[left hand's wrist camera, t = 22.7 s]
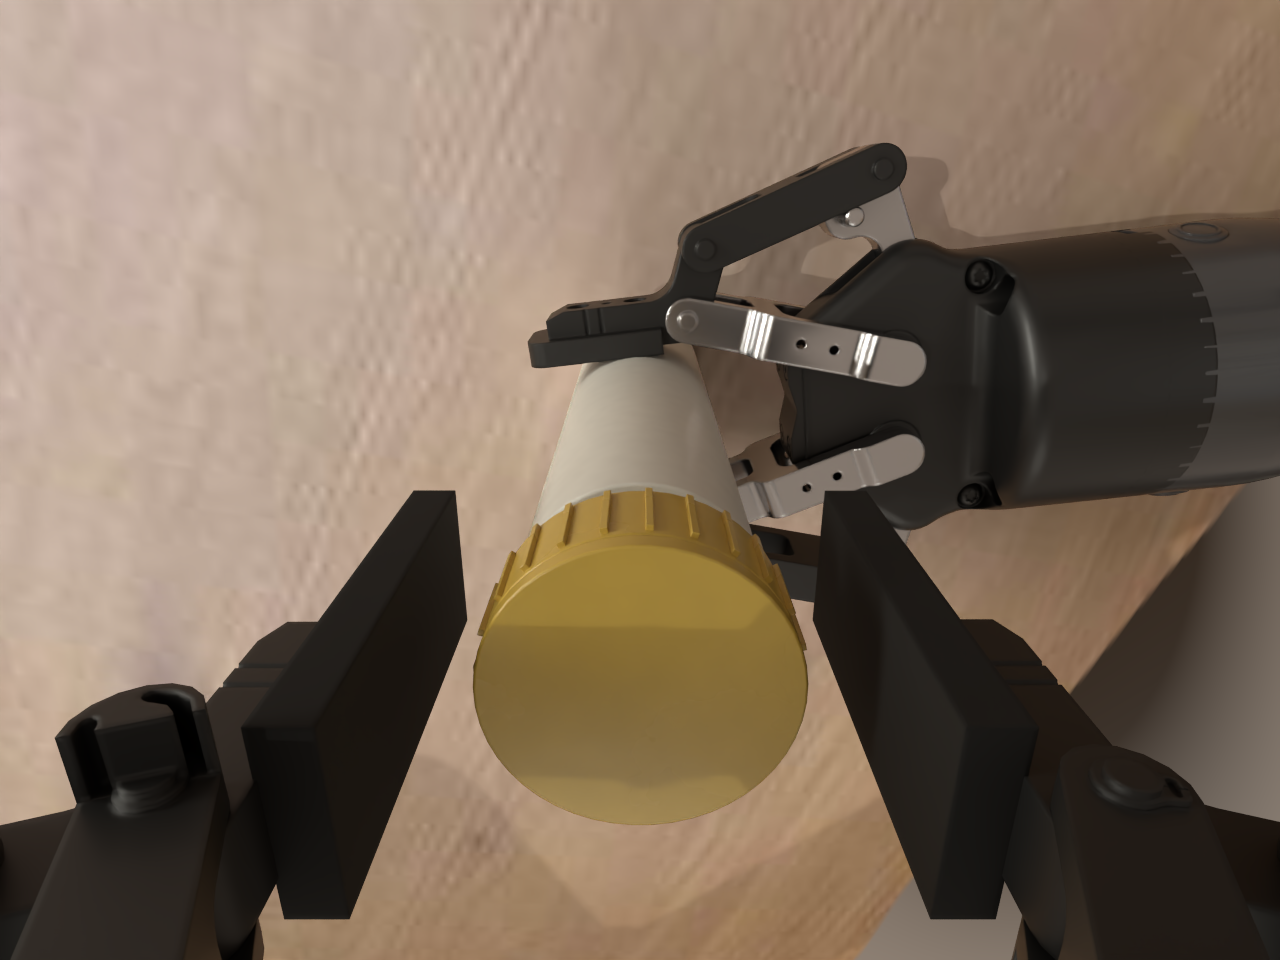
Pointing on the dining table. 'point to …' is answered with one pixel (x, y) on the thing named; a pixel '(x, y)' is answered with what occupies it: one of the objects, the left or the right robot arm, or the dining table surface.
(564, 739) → the lid
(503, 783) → the dining table surface
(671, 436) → the cream cylinder
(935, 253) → the right robot arm
